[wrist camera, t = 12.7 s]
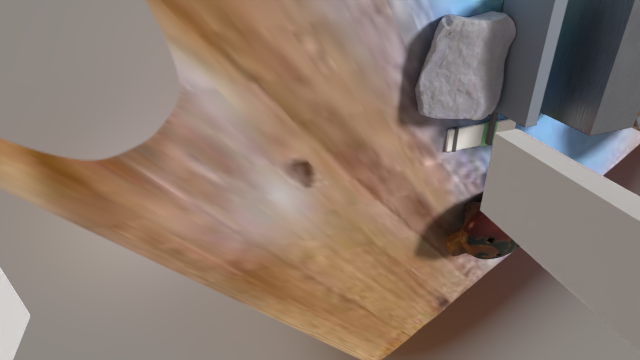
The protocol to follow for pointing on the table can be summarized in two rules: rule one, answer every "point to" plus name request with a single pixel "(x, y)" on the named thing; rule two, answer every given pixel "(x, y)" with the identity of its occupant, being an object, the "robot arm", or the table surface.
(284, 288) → the table surface
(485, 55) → the stone block
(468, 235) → the decorative turtle
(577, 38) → the dark gray block
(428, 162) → the table surface
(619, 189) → the robot arm
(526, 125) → the gauge plate
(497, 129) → the pale flat strip
